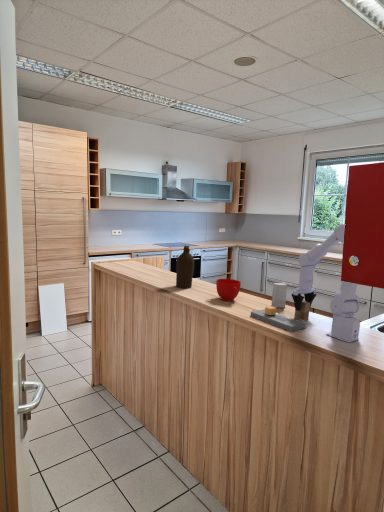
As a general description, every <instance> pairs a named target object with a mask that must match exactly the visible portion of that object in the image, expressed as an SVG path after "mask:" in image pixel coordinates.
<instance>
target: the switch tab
mask: <svg viewBox="0 0 384 512" xmlns="http://www.w3.org/2000/svg"><path fill="white" fill-rule="evenodd" d="M264 309H265V314H268V315H274V314H276V313H277V309H278V307H273V306H272V305H269V306H265V307H264Z"/></svg>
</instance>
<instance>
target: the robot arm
mask: <svg viewBox="0 0 384 512" xmlns="http://www.w3.org/2000/svg"><path fill="white" fill-rule="evenodd" d="M344 224H345V223H342V224H339V225H338V226H337V227H336V228H334V229H333V232H332V233H331V235H329V236H328V237H327V238H326V239H325V240H324V241H323V242H322V243H315V244H314V245H313V247H312V248H310V250H308V251H307V252H301V253H300V255H299V256H298V264H299V265H300V269H299V276H298V277H299V280H298V287H296V288H295V289H293V291H292V293H291V297H292V300H293V303H294V304H293V305H294V311H295V310H298V311H300V309H301V304H302V301H307V302H310V307H312V304H313V302H314V300H315V298H317V293H316V288H314V287H313V279H314V273H315V272H314V271H315V270H316V266H318V264H319V261H320V260H322V259H323V258H324V257H325V256H326V255H327V254H328V250H330V249H331V248H334V246H336V245H337V244H338V243H341V244H343V242H344ZM357 287H358V284H355V283H350V282H344V281H342V280H341V283H340V288H339V290H337V291H336V292H335V293H334V294H333V297H332V299H331V300H330V302H329V308H330V311H331V314H332V321H331V331H329V332H326V336H330V337H331V338H335V339H337V340H340V341H343V342H346V343H351V342H354V341H355V342H356V341H357V340H359V339H360V337H359V335H360V327H361V321H360V319H358V318H357V317H356V314H357V313H358V312H359V310H360V296H359V295H358V294H357V293H356V292H357ZM302 295H304V296H302Z"/></svg>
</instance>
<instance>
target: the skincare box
mask: <svg viewBox="0 0 384 512" xmlns="http://www.w3.org/2000/svg"><path fill="white" fill-rule="evenodd" d="M287 290H288V284H286V283H284V282H283V283H282V282H281V283H280V282H273V285H272V295H271V306H272V307H276V308H277V309H278V308H280V309H281V308H283V309H284V308H286V301H287Z"/></svg>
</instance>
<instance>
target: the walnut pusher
mask: <svg viewBox="0 0 384 512" xmlns="http://www.w3.org/2000/svg"><path fill="white" fill-rule="evenodd" d="M310 309H311V306H310V302H307V301H305V300H303V301H302V304H301V309H300V311H298V310H295V309H294V319H297V318H298V319H297V320H300V319H301V320H300V321H303V320H304V321H308V320H309V317H310V316H309V315H310Z"/></svg>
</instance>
